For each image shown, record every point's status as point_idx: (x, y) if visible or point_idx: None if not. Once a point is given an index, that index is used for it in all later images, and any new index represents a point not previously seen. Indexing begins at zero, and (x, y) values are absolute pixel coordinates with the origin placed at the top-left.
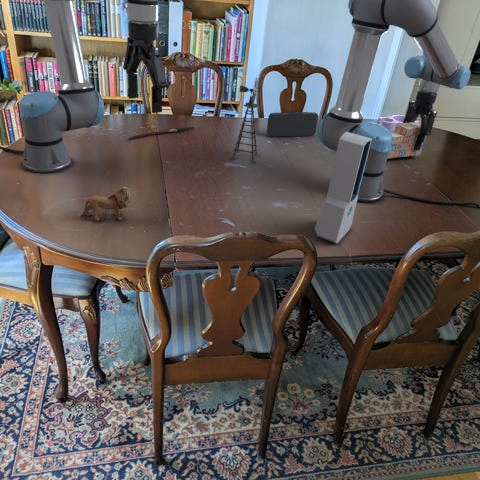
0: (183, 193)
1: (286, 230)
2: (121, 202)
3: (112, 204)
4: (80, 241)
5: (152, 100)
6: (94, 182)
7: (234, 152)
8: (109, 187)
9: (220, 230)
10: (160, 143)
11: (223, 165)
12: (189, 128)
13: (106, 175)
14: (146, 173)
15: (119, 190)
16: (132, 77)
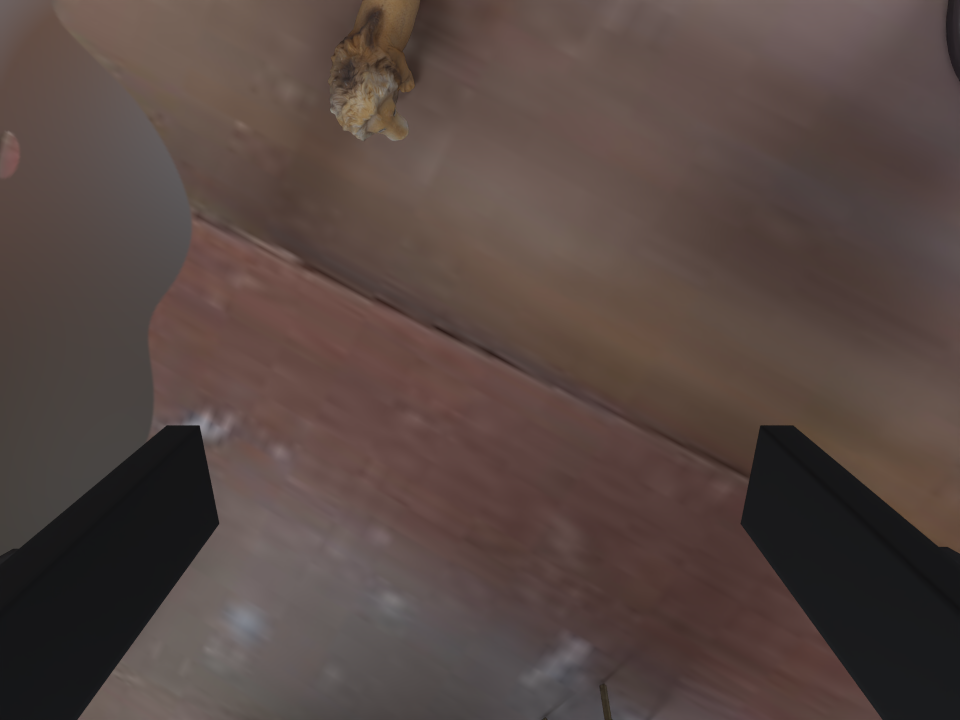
0: (452, 406)
1: None
2: (332, 65)
3: (354, 25)
4: None
5: (78, 514)
6: (732, 127)
7: (606, 710)
8: (650, 168)
9: (153, 376)
10: None
11: (577, 633)
12: None
13: (762, 209)
14: (678, 369)
15: (358, 67)
16: (957, 698)
